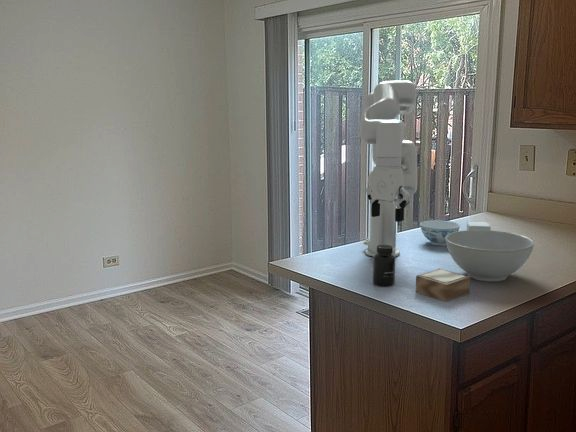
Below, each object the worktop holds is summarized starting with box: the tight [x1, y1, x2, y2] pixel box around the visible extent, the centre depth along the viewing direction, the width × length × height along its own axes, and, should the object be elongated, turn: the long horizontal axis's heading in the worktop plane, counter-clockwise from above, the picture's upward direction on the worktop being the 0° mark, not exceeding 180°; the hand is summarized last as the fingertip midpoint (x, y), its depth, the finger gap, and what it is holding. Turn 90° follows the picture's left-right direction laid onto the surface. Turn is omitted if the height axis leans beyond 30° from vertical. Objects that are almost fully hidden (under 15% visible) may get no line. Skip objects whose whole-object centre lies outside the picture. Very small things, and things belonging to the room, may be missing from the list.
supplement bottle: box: [372, 245, 396, 287], centre depth 178 cm, size 7×7×12 cm
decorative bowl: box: [445, 229, 535, 282], centre depth 184 cm, size 27×27×12 cm
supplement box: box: [466, 221, 491, 230], centre depth 204 cm, size 7×7×13 cm
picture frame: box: [415, 268, 471, 302], centre depth 170 cm, size 11×11×5 cm
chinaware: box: [420, 219, 461, 246], centre depth 225 cm, size 15×15×8 cm
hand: (387, 218), depth 175 cm, fingers open, 9 cm apart
